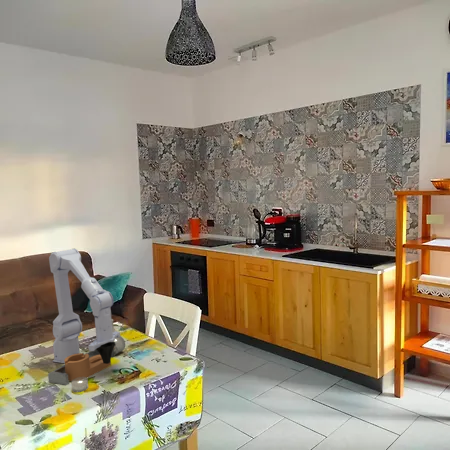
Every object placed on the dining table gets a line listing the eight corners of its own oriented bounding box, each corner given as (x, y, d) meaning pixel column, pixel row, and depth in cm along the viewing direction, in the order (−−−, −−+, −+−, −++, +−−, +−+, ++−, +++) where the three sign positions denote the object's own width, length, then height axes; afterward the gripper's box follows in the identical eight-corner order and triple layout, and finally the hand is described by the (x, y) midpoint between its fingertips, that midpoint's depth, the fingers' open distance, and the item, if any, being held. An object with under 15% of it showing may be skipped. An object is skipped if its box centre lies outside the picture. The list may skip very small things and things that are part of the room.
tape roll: (69, 391, 135) (68, 382, 135) (79, 384, 140) (79, 375, 139) (80, 393, 133) (79, 384, 133) (91, 386, 138) (90, 377, 137)
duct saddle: (48, 382, 143) (47, 363, 142) (106, 349, 170) (105, 334, 170) (70, 386, 139) (68, 367, 138) (125, 352, 166) (124, 336, 166)
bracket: (76, 383, 141) (74, 364, 140) (61, 379, 145) (59, 360, 144) (115, 363, 156) (114, 345, 155) (100, 359, 160) (99, 342, 160)
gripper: (98, 334, 138) (102, 372, 139) (125, 320, 152) (128, 356, 153) (82, 332, 141) (86, 370, 142) (110, 319, 154) (113, 354, 155)
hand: (106, 362), depth 148 cm, fingers closed
